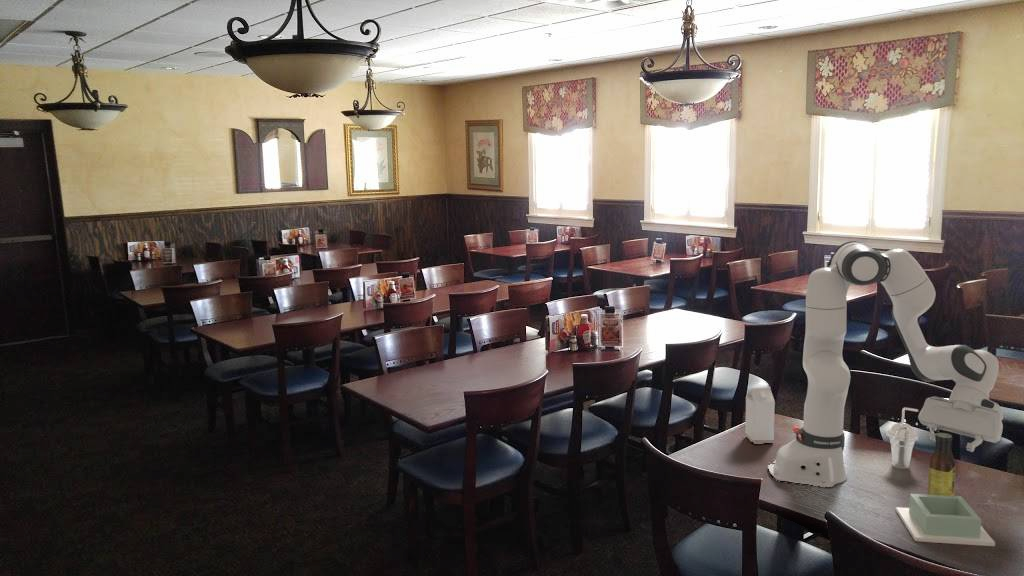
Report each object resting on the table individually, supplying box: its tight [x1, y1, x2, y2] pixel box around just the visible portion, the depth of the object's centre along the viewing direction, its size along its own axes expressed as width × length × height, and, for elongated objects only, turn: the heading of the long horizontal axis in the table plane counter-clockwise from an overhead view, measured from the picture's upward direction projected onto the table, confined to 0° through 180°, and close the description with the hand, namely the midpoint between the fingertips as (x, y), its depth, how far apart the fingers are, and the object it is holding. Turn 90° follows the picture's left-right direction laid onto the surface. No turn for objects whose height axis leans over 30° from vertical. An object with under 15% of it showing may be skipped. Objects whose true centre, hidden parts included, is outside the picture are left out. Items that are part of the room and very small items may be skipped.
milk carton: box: [744, 386, 776, 441], centre depth 246 cm, size 7×7×19 cm
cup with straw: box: [886, 407, 920, 470], centre depth 223 cm, size 8×9×20 cm
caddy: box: [895, 493, 996, 547], centre depth 188 cm, size 18×16×6 cm
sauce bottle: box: [927, 432, 957, 496], centre depth 199 cm, size 6×6×20 cm
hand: (950, 445), depth 201 cm, fingers open, 8 cm apart
